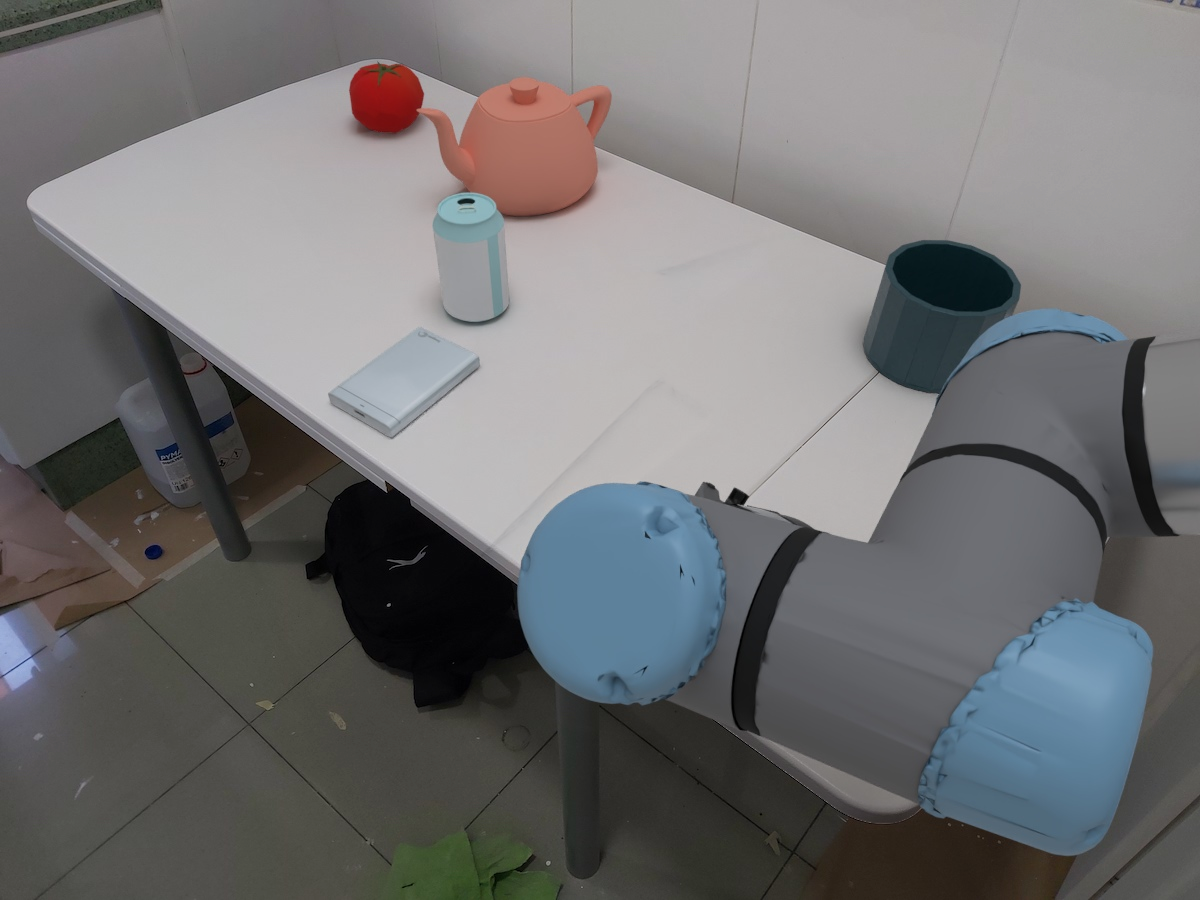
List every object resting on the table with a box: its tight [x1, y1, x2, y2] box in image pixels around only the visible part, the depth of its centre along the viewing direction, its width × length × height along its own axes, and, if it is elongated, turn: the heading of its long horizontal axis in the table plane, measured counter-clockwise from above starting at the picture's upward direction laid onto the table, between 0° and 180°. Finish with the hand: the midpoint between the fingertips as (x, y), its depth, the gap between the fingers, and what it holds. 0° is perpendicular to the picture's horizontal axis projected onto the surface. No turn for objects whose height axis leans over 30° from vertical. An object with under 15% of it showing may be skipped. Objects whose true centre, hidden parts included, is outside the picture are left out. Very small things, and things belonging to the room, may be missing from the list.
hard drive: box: [327, 326, 481, 438], centre depth 85 cm, size 2×8×12 cm
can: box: [432, 192, 510, 323], centre depth 91 cm, size 7×7×12 cm
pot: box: [862, 239, 1022, 394], centre depth 87 cm, size 12×12×10 cm
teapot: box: [417, 76, 613, 217], centre depth 107 cm, size 25×17×13 cm
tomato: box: [348, 60, 425, 134], centre depth 120 cm, size 9×10×8 cm
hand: (851, 585), depth 61 cm, fingers open, 13 cm apart
